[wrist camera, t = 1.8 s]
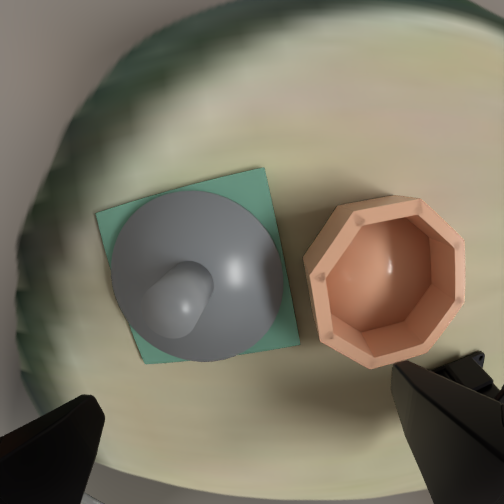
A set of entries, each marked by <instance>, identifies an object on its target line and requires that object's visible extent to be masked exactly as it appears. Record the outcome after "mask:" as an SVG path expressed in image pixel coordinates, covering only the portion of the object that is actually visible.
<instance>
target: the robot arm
mask: <svg viewBox="0 0 504 504" xmlns="http://www.w3.org/2000/svg"><path fill="white" fill-rule="evenodd" d="M484 358H485V354H484V353H483V352H482V351H479V352H477V353H475V354H472V355H470V356H467V357H465V358H463V359H460V360H457V361H455V362H452V363H450V364H447V365H444V366H442V367H439V368H436V369H433V370H431V371H429V370H427V369H425V368H423V367H421V366H418V365H416V364H414V363H412V362H410V361H407V360H405V361H401V362H398V363H395V364H394V365H393V367H392V379H391V392H392V396H393V399H394V402H395V405H396V408H397V411H398V414H399V418H400V421H401V424H402V427H403V431H404V434H405V437H406V439H407V442H408V444H409V446H410V448H411V451H412V453H413V455H414V457H415V460H416V462H417V464H418V467H419V469H420V471H421V474H422V476H423V478H424V481H425V483H426V486H427V488H428V491H429V493H430V495H431V498H432V500H433V503H434V504H504V385H503V386H502V387H501V388H502V389H501V390H499V389H498V388H497V387H496V386H495V384H494V383H493V379H492V378H491V377H490V376H489V375H488V374H487V373H486V372H485V371H484V370H483V369H482V368H483V363H484ZM104 422H105V415H104V413H103V411H102V409H101V407H100V406H99V404H98V402H97V400H96V398H95V397H94V396H92V395H85V394H84V395H80V396H78V397H77V398H75V399H73V400H71V401H69V402H67V403H65V404H64V405H62V406H60V407H58V408H56V409H54V410H52V411H51V412H49V413H47V414H45V415H43V416H41V417H39V418H37V419H35V420H33V421H31V422H29V423H28V424H26V425H24V426H22V427H20V428H18V429H16V430H14V431H12V432H10V433H8V434H6V435H4V436H2V437H0V504H81V501H82V498H83V495H84V491H85V488H86V485H87V482H88V479H89V476H90V473H91V470H92V467H93V464H94V461H95V458H96V455H97V451H98V446H99V442H100V438H101V434H102V430H103V426H104Z"/></svg>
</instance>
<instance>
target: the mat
mask: <svg viewBox="0 0 504 504" xmlns="http://www.w3.org/2000/svg"><path fill="white" fill-rule="evenodd" d="M179 191H206V192H210V193H215V194H219V195H221V196H224V197H227V198H229V199H231V200H233V201H235V202H237V203H239V204H240V205H242V206H243V207H244V208H246V209H247V210H249V211H250V212H251V213H252V214H253V215H254V216H255V217H256V218H257V219H258V220H259V221H260V222H261V223H262V224H263V226H264V227H265V228H266V229H267V231H268V232H269V234H270V236H271V237H272V239H273V241H274V243H275V245H276V248H277V250H278V253H279V256H280V260H281V264H282V271H283V295H282V302H281V305H280V308H279V312H278V314H277V316H276V318H275V320H274V322H273V324H272V326H271V327H270V329H269V330H268V332H267V333H266V334H265V335H264V336H263V337H262V338H261V339H260V340H259V341H258V342H257V343H256V344H255V345H254V346H252V347H251V348H249V349H248V350H246V351H244V352H242V353H240V354H238V355H241V354H248V353H255V352H261V351H268V350H274V349H280V348H285V347H291V346H296V345H300V340H299V334H298V329H297V323H296V318H295V313H294V307H293V302H292V297H291V292H290V287H289V282H288V277H287V272H286V267H285V262H284V257H283V252H282V247H281V242H280V237H279V232H278V228H277V223H276V218H275V214H274V209H273V204H272V200H271V195H270V191H269V186H268V182H267V177H266V173H265V168H259V169H254V170H250V171H245V172H241V173H237V174H232V175H228V176H224V177H220V178H216V179H212V180H208V181H204V182H200V183H196V184H192V185H189V186H185V187H181V188H177V189H174V190H170V191H167V192H163V193H160V194H156V195H153V196H149V197H146V198H142V199H139V200H136V201H133V202H129V203H126V204H123V205H120V206H117V207H113V208H110V209H107V210H104V211H101V212H98V213H96V217H97V221H98V225H99V229H100V233H101V237H102V241H103V245H104V248H105V252H106V255H107V259H108V262H109V266H110V269H111V261H112V254H113V249H114V245H115V243H116V240H117V237H118V235H119V233H120V231H121V229H122V228H123V226H124V225H125V223H126V222H127V221H128V219H129V218H130V217H131V216H132V215H133V214H134V213H135V212H136V211H137V210H138V209H139V208H141V207H142V206H143V205H145V204H146V203H148V202H149V201H151V200H153V199H155V198H157V197H160V196H163V195H165V194H169V193H174V192H179ZM128 323H129V322H128ZM129 325H130V324H129ZM130 328H131V331H132V333H133V336H134V339H135V341H136V344H137V346H138V349H139V351H140V354H141V356H142V358H143V361H144V363H145V364H157V363H170V362H181V361H190V360H185V359H181V358H177V357H174V356H172V355H169V354H167V353H165V352H163V351H161V350H159V349H157V348H156V347H154V346H153V345H151V344H150V343H148V342H147V341H146V340H145V339H143V338H142V337H141V336H140V335H139V334H138V333H137V332H136V331H135V330H134V328H133V327H132V326H131V325H130Z"/></svg>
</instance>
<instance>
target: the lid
mask: <svg viewBox="0 0 504 504" xmlns="http://www.w3.org/2000/svg"><path fill="white" fill-rule="evenodd" d="M111 279H112V285H113V290H114V294H115V297H116V300H117V302H118V305H119V307H120V309H121V311H122V313H123V315H124V316H125V318H126V319H127V321H128V322H129V324H130V325H131V326H132V327H133V328H134V330H135V331H136V332H137V333H138V334H139V335H140V336H141V337H142V338H143V339H145V340H146V341H147V342H148V343H150V344H151V345H153V346H154V347H156V348H157V349H159V350H161V351H163V352H165V353H167V354H169V355H172V356H174V357H177V358H181V359H185V360H190V361H199V362H209V361H218V360H224V359H227V358H230V357H234V356H236V355H238V354H240V353H242V352H244V351H246V350H248V349H249V348H251V347H252V346H254V345H255V344H256V343H257V342H258V341H259V340H260V339H261V338H262V337H263V336H264V335H265V334H266V333H267V332H268V330H269V329H270V327H271V326H272V324H273V322H274V320H275V318H276V316H277V314H278V312H279V308H280V305H281V302H282V295H283V271H282V264H281V260H280V256H279V253H278V250H277V248H276V245H275V243H274V241H273V239H272V237H271V236H270V234H269V232H268V231H267V229H266V228H265V227H264V226H263V224H262V223H261V222H260V221H259V220H258V219H257V218H256V217H255V216H254V215H253V214H252V213H251V212H250V211H249V210H247V209H246V208H244V207H243V206H242V205H240V204H239V203H237V202H235V201H233V200H231V199H229V198H227V197H224V196H221V195H219V194H215V193H210V192H206V191H179V192H174V193H169V194H165V195H163V196H160V197H157V198H155V199H153V200H151V201H149V202H148V203H146V204H145V205H143V206H142V207H141V208H139V209H138V210H137V211H136V212H135V213H134V214H133V215H132V216H131V217H130V218H129V219H128V221H127V222H126V223H125V225H124V226H123V228H122V229H121V231H120V233H119V235H118V237H117V240H116V243H115V245H114V249H113V254H112V261H111Z"/></svg>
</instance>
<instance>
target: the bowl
mask: <svg viewBox="0 0 504 504" xmlns="http://www.w3.org/2000/svg"><path fill="white" fill-rule="evenodd" d="M303 262H304V267H305V273H306V278H307V284H308V289H309V295H310V301H311V307H312V313H313V317H314V321H315V324H316V328H317V332H318V336H319V339H320V342H322V343H324V344H326V345H327V346H329V347H331V348H333V349H334V350H336V351H338V352H340V353H341V354H343V355H345V356H347V357H348V358H350V359H352V360H354V361H356V362H357V363H359V364H361V365H363V366H365V367H366V368H368V369H374V368H377V367H381V366H385V365H388V364H392V363H395V362H399V361H402V360H406V359H409V358H412V357H415V356H418V355H422V354H425V353H427V352H428V351H429V350H430V348H431V347H432V346H433V345H434V343H435V342H436V341H437V340H438V338H439V337H440V336H441V334H442V333H443V332H444V330H445V329H446V328H447V326H448V325H449V324H450V322H451V321H452V320H453V318H454V317H455V315H456V314H457V313H458V311H459V310H460V308H461V307H462V305H463V304H464V302H465V242H464V239H463V238H462V237H461V236H460V235H459V234H458V233H457V232H456V231H455V230H454V229H453V228H452V227H451V226H450V225H449V224H448V223H447V222H446V221H445V220H443V219H442V218H441V217H440V216H439V215H438V214H437V213H436V212H435V211H434V210H433V209H432V208H431V207H429V206H428V205H427V204H426V203H425V202H424V201H423V200H422V199H420V198H413V197H405V196H397V195H392V196H386V197H381V198H375V199H370V200H364V201H359V202H354V203H348V204H343V205H338V206H337V207H336V209H335V210H334V212H333V213H332V215H331V216H330V218H329V219H328V221H327V222H326V224H325V225H324V227H323V228H322V230H321V231H320V233H319V234H318V236H317V237H316V238H315V240H314V241H313V243H312V244H311V246H310V247H309V249H308V250H307V252H306V253H305V255H304V256H303Z"/></svg>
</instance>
